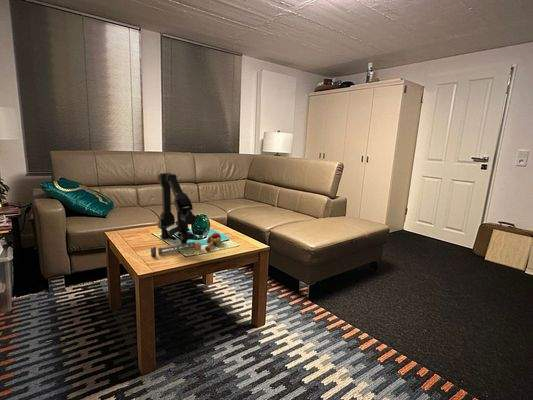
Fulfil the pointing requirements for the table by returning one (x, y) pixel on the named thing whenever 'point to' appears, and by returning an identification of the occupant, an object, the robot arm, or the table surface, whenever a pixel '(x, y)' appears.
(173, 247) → the grey long rod
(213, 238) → the kendama
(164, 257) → the table surface
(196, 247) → the latch post
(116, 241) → the table surface
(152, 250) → the hinge post
